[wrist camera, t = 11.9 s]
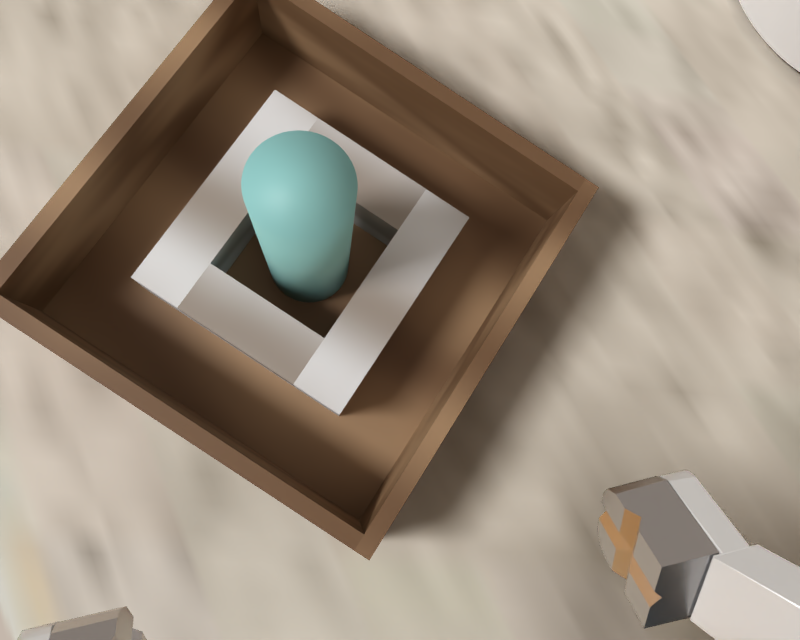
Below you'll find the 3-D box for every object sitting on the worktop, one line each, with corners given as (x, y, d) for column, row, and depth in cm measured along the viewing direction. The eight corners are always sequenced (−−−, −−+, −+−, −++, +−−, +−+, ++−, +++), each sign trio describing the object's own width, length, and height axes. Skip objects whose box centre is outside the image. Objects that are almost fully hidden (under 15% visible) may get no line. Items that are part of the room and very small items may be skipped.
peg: (299, 212, 27) (285, 109, 18) (363, 254, 27) (379, 171, 18) (254, 274, 27) (217, 198, 18) (319, 317, 27) (315, 262, 18)
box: (260, 21, 29) (249, -43, 25) (562, 220, 29) (598, 187, 25) (24, 317, 26) (-31, 297, 22) (363, 540, 26) (369, 560, 22)
